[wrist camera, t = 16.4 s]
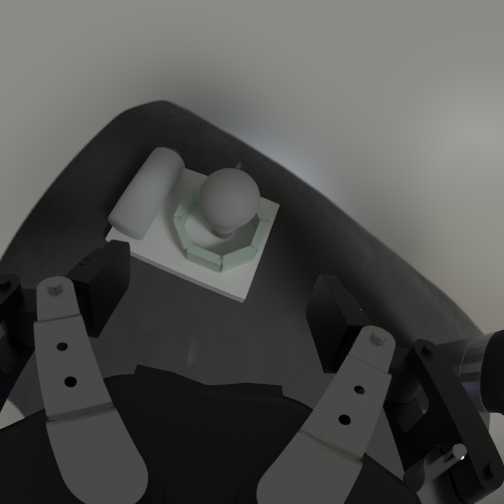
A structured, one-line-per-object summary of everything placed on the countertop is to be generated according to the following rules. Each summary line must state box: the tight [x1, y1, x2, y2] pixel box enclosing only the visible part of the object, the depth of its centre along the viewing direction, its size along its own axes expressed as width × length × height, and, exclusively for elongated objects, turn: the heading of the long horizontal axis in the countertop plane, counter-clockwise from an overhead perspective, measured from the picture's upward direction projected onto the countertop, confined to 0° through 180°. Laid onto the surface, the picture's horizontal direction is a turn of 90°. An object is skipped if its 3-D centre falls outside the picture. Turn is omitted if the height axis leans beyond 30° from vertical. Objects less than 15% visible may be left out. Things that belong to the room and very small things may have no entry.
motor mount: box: [106, 147, 279, 302], centre depth 33 cm, size 19×14×7 cm
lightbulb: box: [198, 168, 260, 239], centre depth 29 cm, size 6×6×11 cm
